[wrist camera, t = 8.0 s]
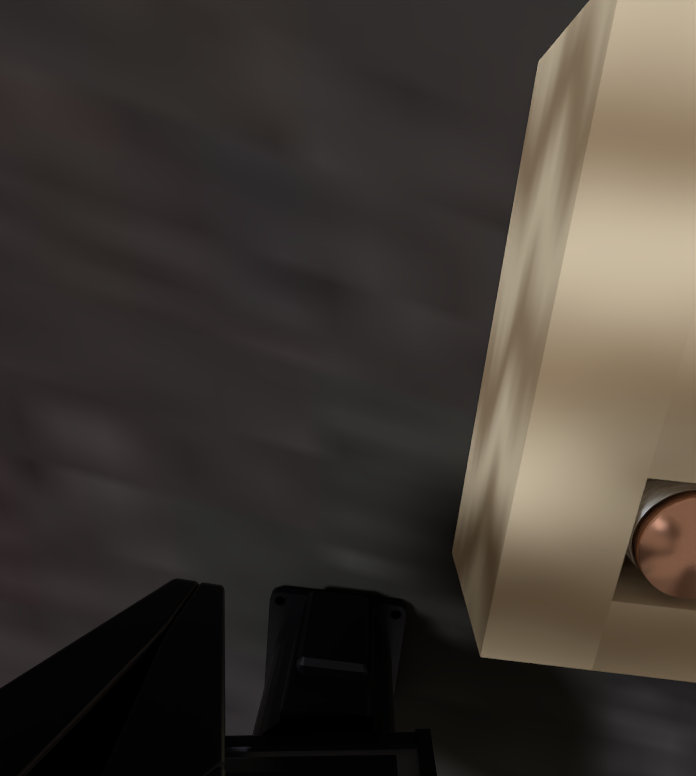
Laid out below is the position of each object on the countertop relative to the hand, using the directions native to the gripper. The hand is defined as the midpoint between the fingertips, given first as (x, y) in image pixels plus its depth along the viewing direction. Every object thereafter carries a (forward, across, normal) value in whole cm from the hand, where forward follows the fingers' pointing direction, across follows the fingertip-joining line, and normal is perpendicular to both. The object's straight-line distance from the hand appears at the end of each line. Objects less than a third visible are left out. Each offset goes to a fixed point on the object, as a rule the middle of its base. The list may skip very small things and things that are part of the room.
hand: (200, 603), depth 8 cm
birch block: (+13, -13, -4) cm, 19 cm away
